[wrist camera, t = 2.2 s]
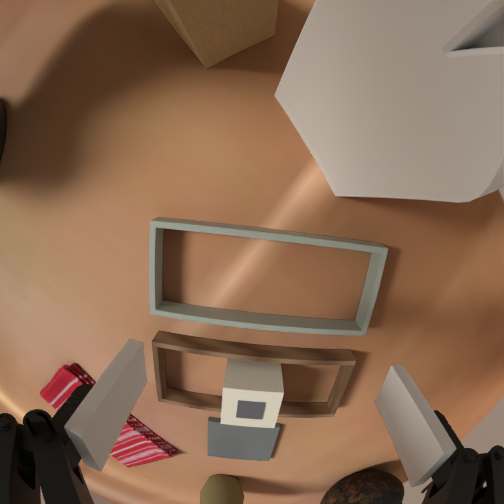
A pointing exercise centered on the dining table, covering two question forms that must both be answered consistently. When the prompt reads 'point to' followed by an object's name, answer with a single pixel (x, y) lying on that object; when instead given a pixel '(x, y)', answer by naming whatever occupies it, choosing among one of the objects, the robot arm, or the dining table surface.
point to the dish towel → (133, 433)
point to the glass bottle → (366, 489)
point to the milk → (401, 96)
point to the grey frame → (260, 319)
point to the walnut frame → (252, 354)
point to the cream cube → (251, 393)
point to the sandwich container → (220, 25)
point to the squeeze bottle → (221, 491)
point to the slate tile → (240, 441)
